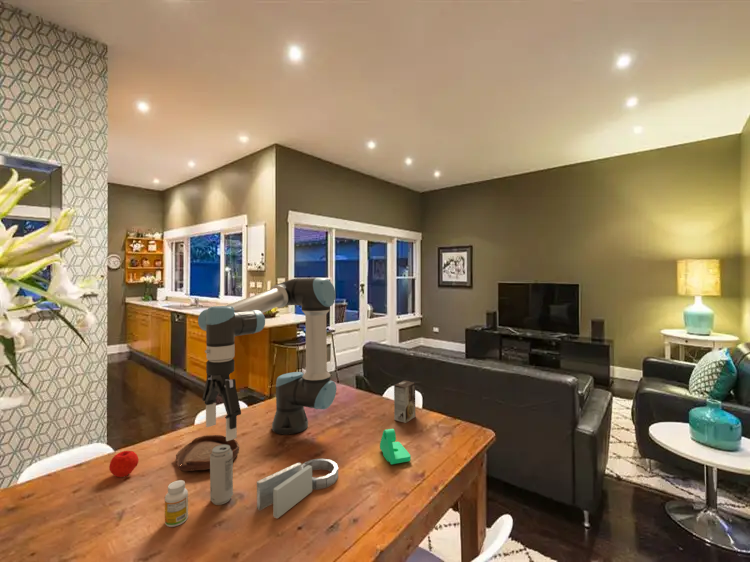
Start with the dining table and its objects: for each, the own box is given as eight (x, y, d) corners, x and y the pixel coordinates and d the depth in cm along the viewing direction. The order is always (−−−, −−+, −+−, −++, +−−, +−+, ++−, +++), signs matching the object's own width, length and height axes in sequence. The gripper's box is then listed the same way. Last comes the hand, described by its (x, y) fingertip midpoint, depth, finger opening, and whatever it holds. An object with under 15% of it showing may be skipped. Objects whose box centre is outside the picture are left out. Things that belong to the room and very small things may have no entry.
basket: (166, 459, 126) (166, 445, 126) (222, 440, 141) (222, 428, 141) (190, 483, 111) (190, 468, 111) (250, 459, 125) (250, 445, 125)
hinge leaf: (273, 516, 94) (273, 488, 94) (308, 489, 106) (308, 465, 106) (277, 518, 93) (277, 490, 93) (312, 491, 105) (312, 466, 105)
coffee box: (404, 413, 167) (403, 379, 167) (415, 416, 163) (415, 382, 163) (393, 420, 159) (393, 384, 159) (405, 423, 156) (405, 387, 156)
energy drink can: (216, 493, 105) (216, 443, 105) (236, 493, 105) (236, 443, 105) (206, 506, 99) (205, 453, 99) (227, 506, 99) (226, 453, 99)
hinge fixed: (247, 499, 102) (247, 474, 102) (321, 463, 122) (321, 442, 122) (270, 519, 94) (269, 491, 94) (345, 477, 114) (345, 454, 114)
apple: (144, 470, 118) (144, 448, 118) (120, 483, 111) (120, 460, 111) (127, 466, 121) (127, 445, 121) (103, 479, 113) (103, 456, 113)
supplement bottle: (171, 514, 96) (170, 479, 96) (191, 513, 96) (191, 477, 96) (160, 528, 91) (160, 490, 91) (182, 526, 91) (182, 489, 91)
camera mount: (411, 463, 122) (411, 434, 122) (391, 467, 120) (390, 437, 120) (398, 448, 133) (398, 421, 133) (379, 451, 131) (379, 423, 131)
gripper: (190, 355, 108) (190, 424, 108) (227, 368, 91) (227, 450, 91) (215, 351, 113) (215, 417, 113) (253, 363, 96) (254, 441, 96)
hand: (220, 432), depth 102 cm, fingers open, 13 cm apart
